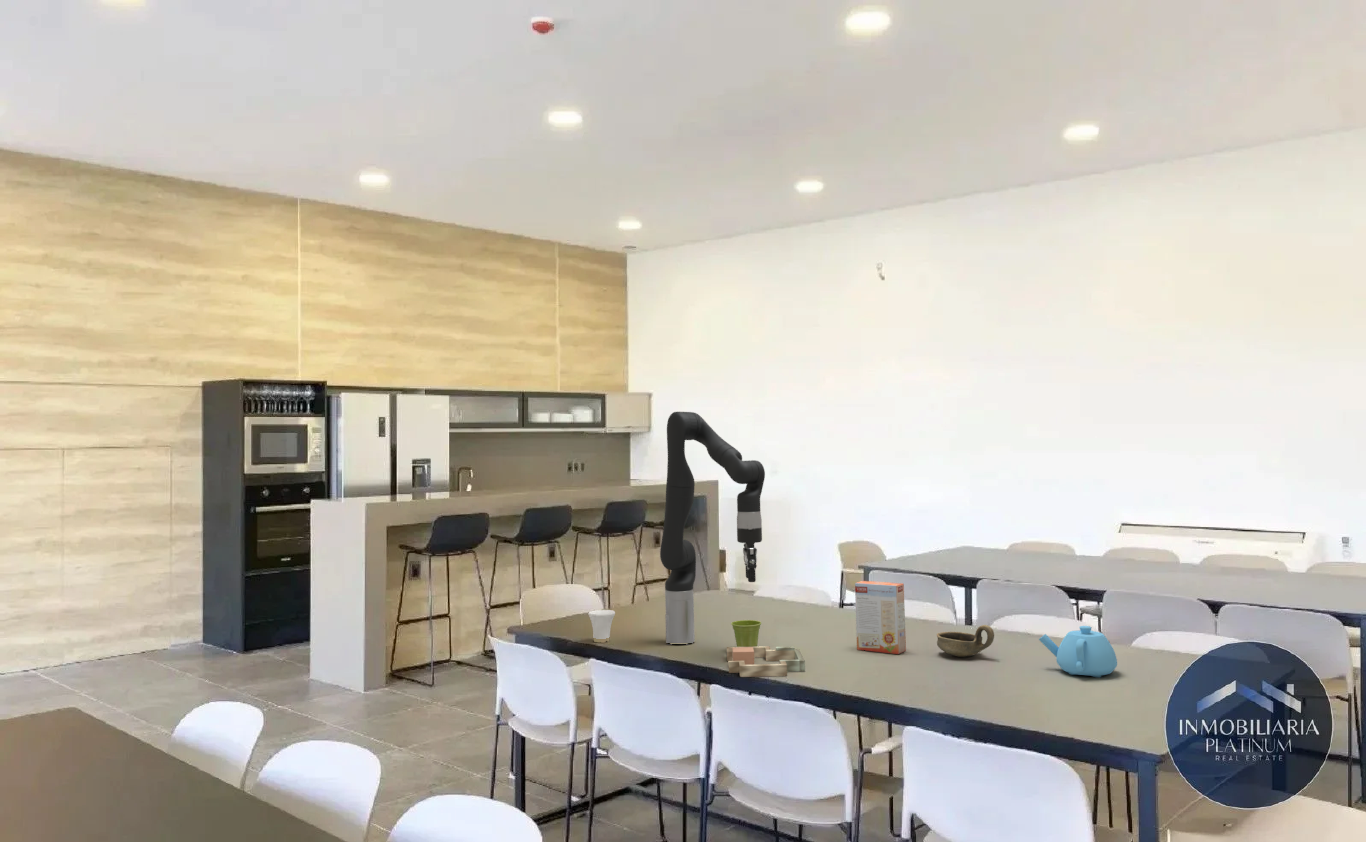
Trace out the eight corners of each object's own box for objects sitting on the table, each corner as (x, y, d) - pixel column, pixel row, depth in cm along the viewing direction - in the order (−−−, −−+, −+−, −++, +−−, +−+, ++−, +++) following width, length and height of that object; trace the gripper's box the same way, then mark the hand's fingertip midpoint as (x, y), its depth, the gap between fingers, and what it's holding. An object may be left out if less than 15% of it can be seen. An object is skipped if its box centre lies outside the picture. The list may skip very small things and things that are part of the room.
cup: (583, 643, 321) (583, 613, 321) (596, 638, 329) (596, 608, 330) (607, 645, 317) (607, 614, 318) (620, 639, 326) (619, 609, 326)
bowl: (949, 648, 301) (948, 616, 301) (1003, 656, 289) (1002, 622, 289) (927, 656, 291) (926, 623, 291) (982, 665, 279) (981, 630, 279)
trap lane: (729, 677, 271) (729, 663, 271) (726, 657, 296) (726, 644, 296) (806, 675, 271) (806, 661, 271) (797, 655, 296) (797, 643, 296)
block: (733, 669, 281) (733, 652, 281) (732, 664, 287) (732, 647, 287) (754, 669, 281) (754, 651, 281) (753, 664, 287) (752, 647, 287)
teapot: (1111, 684, 254) (1109, 635, 255) (1031, 675, 265) (1030, 629, 265) (1122, 668, 271) (1121, 622, 271) (1047, 660, 282) (1046, 616, 282)
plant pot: (741, 655, 298) (741, 626, 298) (726, 649, 307) (725, 622, 307) (767, 651, 303) (767, 623, 303) (751, 646, 311) (751, 618, 311)
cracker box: (906, 651, 298) (904, 582, 299) (898, 655, 293) (896, 585, 294) (865, 646, 307) (863, 579, 307) (856, 650, 302) (854, 582, 302)
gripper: (735, 524, 304) (736, 577, 303) (738, 528, 289) (740, 583, 289) (759, 524, 304) (760, 576, 304) (763, 528, 290) (765, 583, 289)
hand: (750, 579), depth 296 cm, fingers open, 8 cm apart
